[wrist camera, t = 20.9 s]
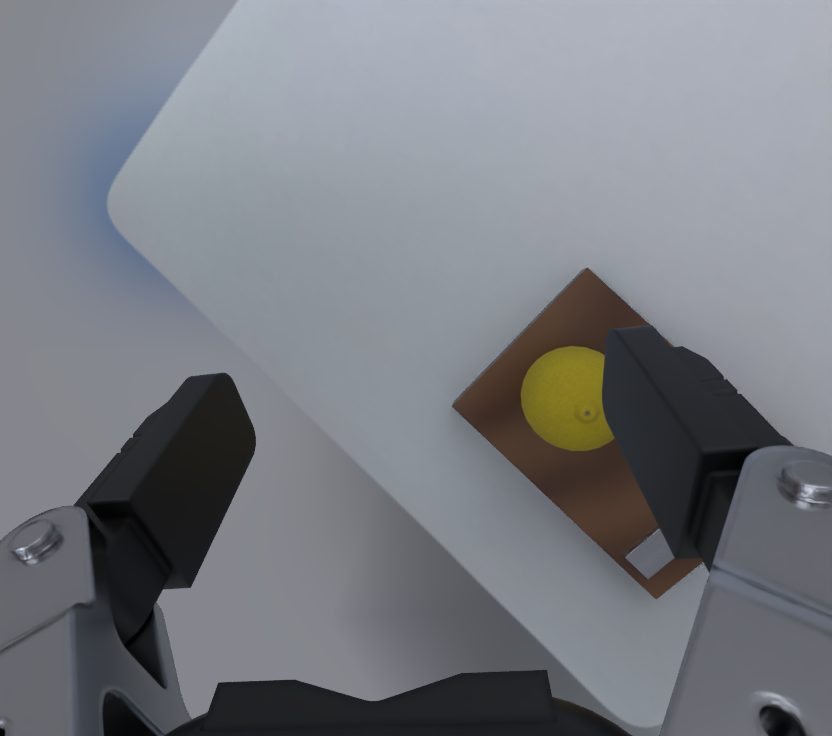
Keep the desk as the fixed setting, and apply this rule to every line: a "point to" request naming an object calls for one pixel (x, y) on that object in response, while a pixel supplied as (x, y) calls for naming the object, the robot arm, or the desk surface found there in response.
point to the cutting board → (559, 468)
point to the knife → (652, 552)
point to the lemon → (567, 399)
